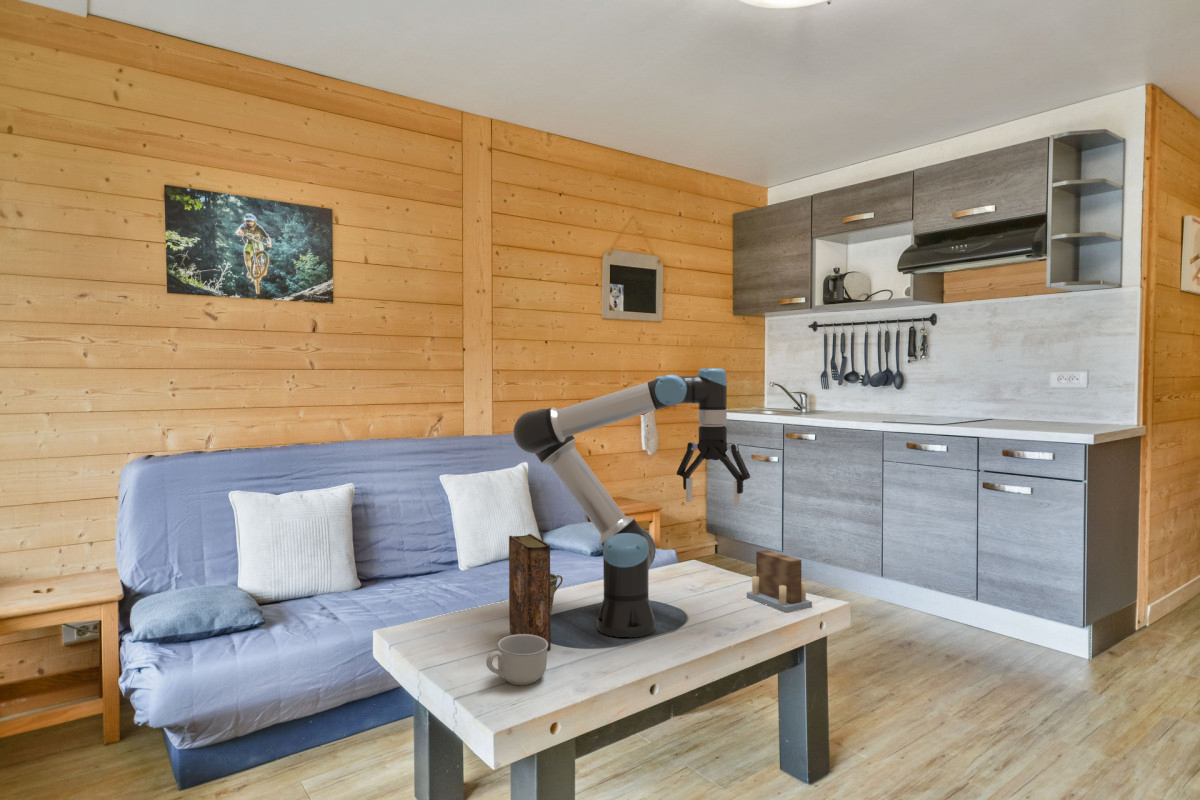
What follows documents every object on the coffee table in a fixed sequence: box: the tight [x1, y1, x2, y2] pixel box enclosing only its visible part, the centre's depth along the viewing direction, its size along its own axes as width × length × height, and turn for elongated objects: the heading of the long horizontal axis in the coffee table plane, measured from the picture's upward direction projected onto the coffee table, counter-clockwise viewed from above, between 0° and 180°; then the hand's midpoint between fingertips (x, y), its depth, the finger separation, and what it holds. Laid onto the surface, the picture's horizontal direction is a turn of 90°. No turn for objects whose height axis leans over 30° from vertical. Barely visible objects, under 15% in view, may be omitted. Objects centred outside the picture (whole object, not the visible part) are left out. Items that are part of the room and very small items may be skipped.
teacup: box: [486, 634, 548, 686], centre depth 147 cm, size 14×11×8 cm
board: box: [755, 549, 802, 604], centre depth 200 cm, size 14×4×12 cm, turn 30°
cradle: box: [746, 575, 813, 613], centre depth 200 cm, size 16×10×6 cm, turn 29°
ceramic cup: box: [550, 572, 564, 615], centre depth 192 cm, size 13×10×10 cm
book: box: [508, 533, 552, 653], centre depth 170 cm, size 16×6×25 cm, turn 25°
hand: (712, 503), depth 188 cm, fingers open, 13 cm apart
